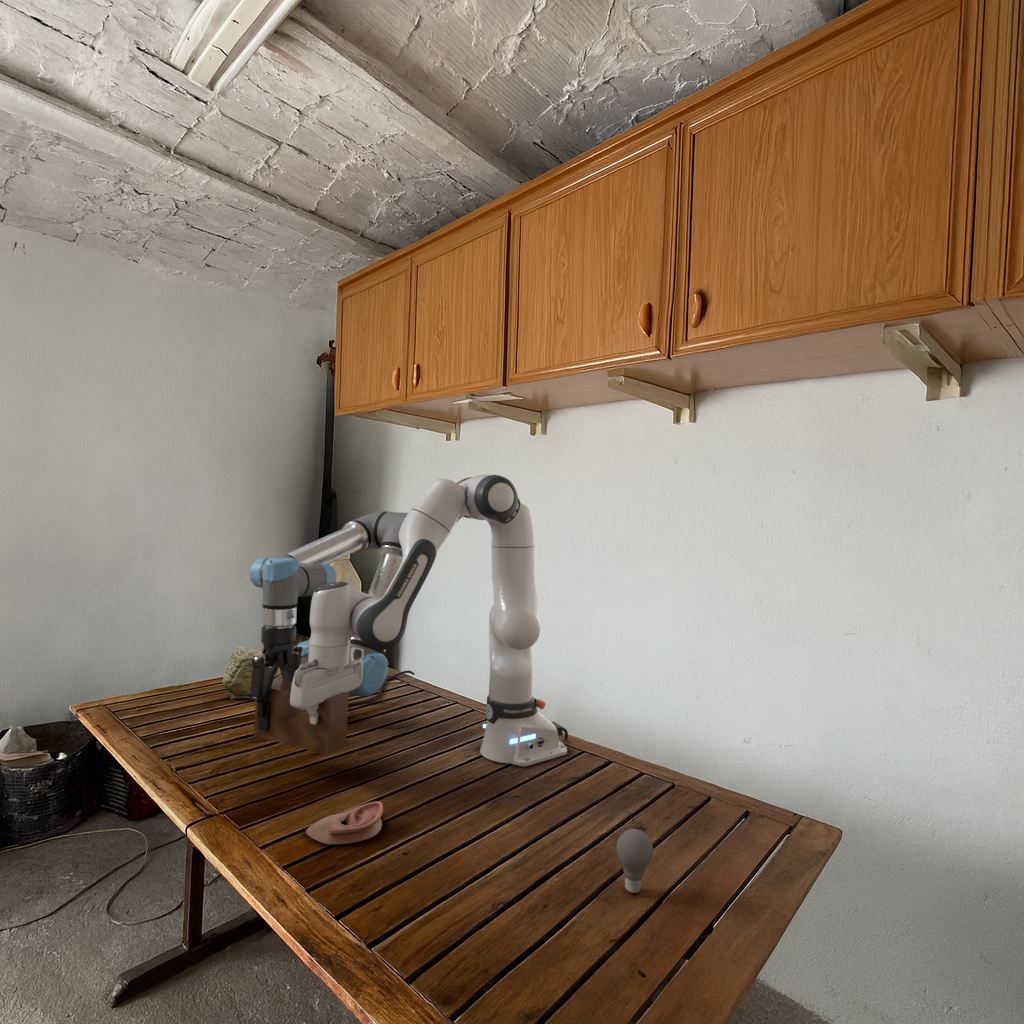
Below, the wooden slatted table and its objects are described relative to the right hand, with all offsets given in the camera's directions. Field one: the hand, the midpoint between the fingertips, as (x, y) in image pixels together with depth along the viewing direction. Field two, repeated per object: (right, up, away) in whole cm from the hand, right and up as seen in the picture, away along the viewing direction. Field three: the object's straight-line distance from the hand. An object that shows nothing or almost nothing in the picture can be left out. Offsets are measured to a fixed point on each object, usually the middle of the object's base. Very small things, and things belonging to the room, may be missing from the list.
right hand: (326, 717), depth 140 cm
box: (-7, -6, +3) cm, 10 cm away
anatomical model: (+9, -15, -20) cm, 26 cm away
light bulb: (+61, -18, -35) cm, 73 cm away
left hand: (-14, -4, +6) cm, 15 cm away
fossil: (-40, -12, +58) cm, 71 cm away
